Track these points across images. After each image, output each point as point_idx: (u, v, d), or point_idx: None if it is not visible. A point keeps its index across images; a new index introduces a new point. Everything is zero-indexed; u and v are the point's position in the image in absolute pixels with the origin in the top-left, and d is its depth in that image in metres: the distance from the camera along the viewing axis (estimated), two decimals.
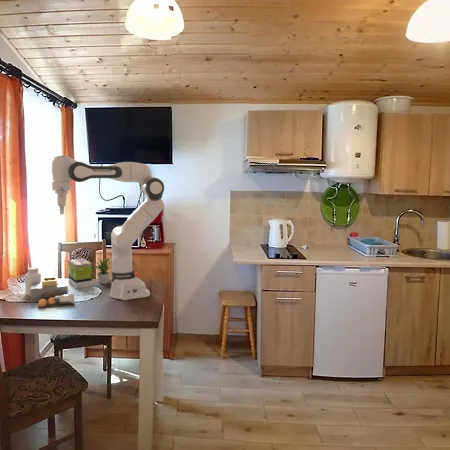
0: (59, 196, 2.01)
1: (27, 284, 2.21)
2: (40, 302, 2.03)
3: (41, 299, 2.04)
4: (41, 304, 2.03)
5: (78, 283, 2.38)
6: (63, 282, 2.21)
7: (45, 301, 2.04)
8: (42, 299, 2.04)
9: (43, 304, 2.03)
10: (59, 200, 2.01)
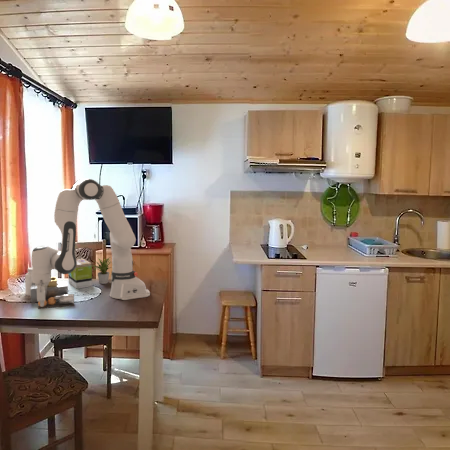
0: (38, 292, 1.94)
1: (27, 284, 2.21)
2: None
3: None
4: None
5: (78, 283, 2.38)
6: (63, 282, 2.21)
7: (45, 301, 2.04)
8: None
9: None
10: (38, 296, 1.94)
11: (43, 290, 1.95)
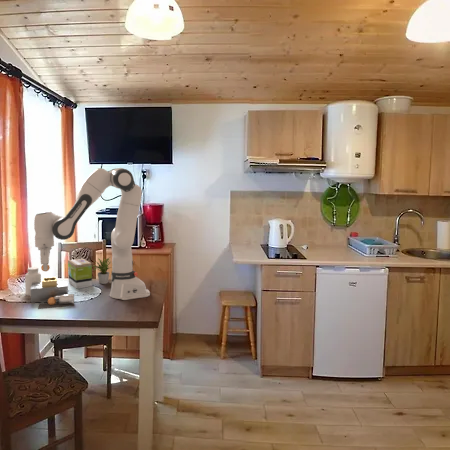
0: (42, 255, 1.98)
1: (27, 284, 2.21)
2: None
3: None
4: None
5: (78, 283, 2.38)
6: (63, 282, 2.21)
7: (48, 266, 2.08)
8: None
9: None
10: (42, 259, 1.98)
11: (46, 253, 1.99)
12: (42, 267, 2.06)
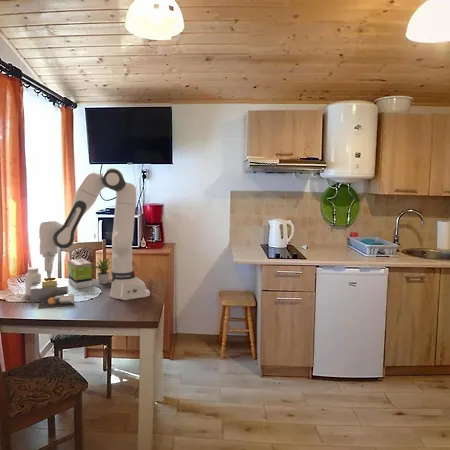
0: (46, 262, 2.06)
1: (27, 284, 2.21)
2: None
3: None
4: None
5: (78, 283, 2.38)
6: (63, 282, 2.21)
7: None
8: None
9: None
10: (46, 266, 2.06)
11: (50, 260, 2.07)
12: None
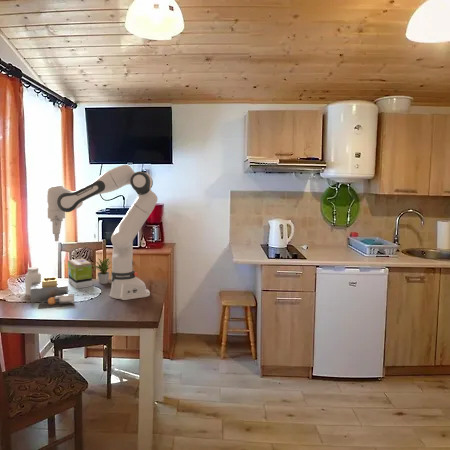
0: (54, 225, 2.13)
1: (27, 284, 2.21)
2: None
3: None
4: None
5: (78, 283, 2.38)
6: (63, 282, 2.21)
7: None
8: None
9: None
10: (54, 229, 2.13)
11: (58, 224, 2.14)
12: None
